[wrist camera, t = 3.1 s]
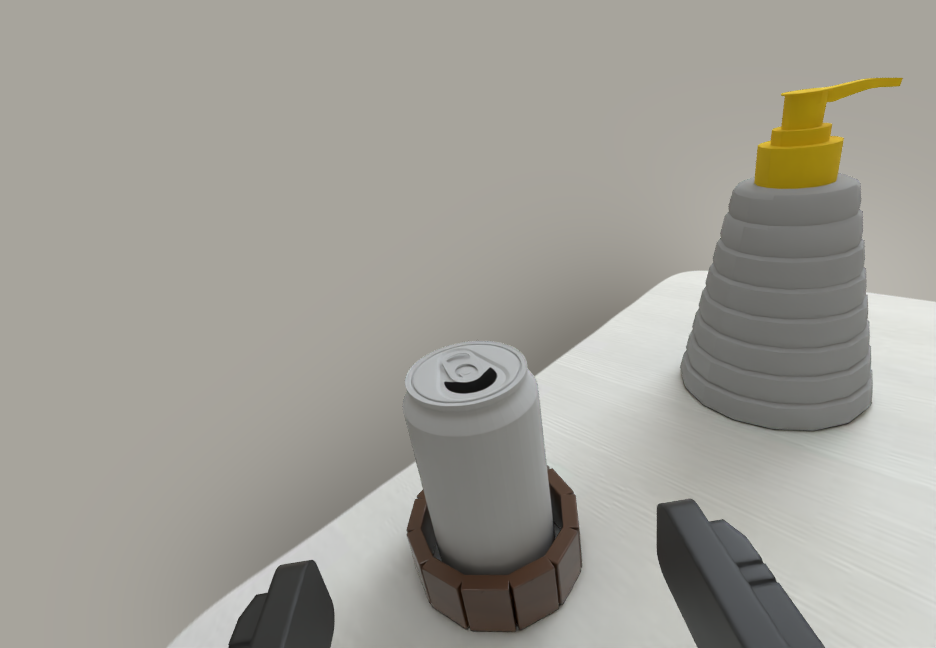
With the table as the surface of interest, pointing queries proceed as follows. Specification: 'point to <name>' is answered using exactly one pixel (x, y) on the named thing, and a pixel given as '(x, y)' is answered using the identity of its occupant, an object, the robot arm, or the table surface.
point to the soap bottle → (789, 283)
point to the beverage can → (481, 456)
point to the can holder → (501, 595)
